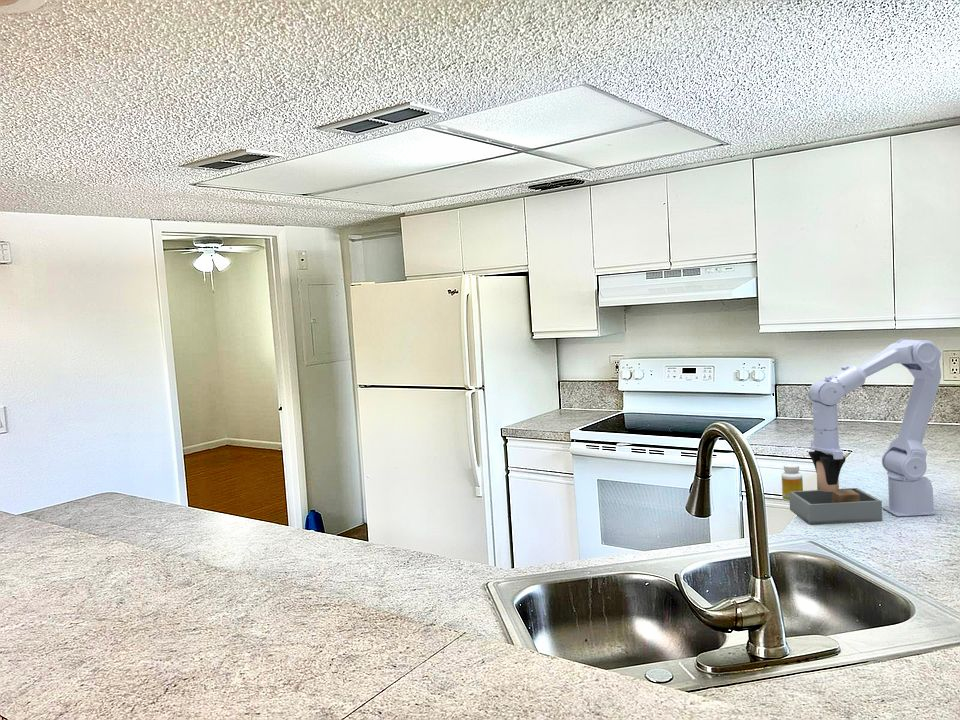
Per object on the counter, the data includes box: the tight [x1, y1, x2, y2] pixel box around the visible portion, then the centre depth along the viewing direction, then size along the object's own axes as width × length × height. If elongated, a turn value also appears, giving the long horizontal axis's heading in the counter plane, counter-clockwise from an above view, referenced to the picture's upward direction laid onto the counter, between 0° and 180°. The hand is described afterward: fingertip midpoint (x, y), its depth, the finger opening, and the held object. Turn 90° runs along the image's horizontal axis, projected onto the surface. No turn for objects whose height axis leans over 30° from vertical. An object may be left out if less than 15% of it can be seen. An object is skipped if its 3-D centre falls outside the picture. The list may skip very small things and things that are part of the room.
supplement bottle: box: [781, 463, 804, 503], centre depth 210 cm, size 5×5×10 cm
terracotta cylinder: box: [816, 460, 840, 492], centre depth 190 cm, size 5×5×7 cm
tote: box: [789, 487, 883, 526], centre depth 193 cm, size 18×14×5 cm
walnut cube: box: [831, 490, 860, 503], centre depth 193 cm, size 5×5×5 cm
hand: (827, 481), depth 191 cm, fingers closed on terracotta cylinder, 5 cm apart
